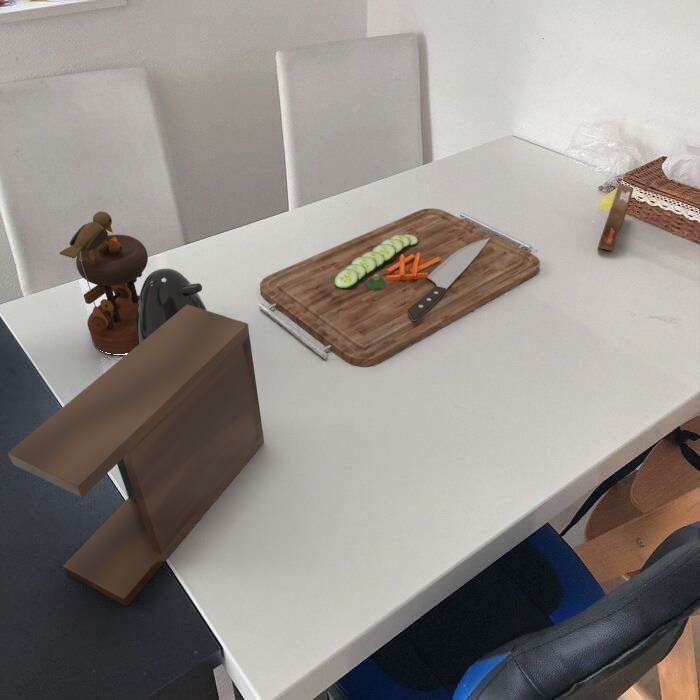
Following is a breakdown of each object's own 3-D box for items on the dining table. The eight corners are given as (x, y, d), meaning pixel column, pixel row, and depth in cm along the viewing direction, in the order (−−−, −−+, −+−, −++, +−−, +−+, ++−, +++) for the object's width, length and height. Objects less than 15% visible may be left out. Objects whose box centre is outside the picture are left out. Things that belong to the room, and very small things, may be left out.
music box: (150, 366, 94) (103, 238, 81) (77, 365, 96) (20, 240, 83) (186, 303, 106) (150, 183, 93) (121, 302, 107) (76, 185, 95)
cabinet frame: (66, 574, 69) (7, 452, 57) (210, 421, 85) (187, 304, 74) (127, 607, 66) (77, 486, 54) (264, 442, 82) (248, 323, 71)
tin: (607, 217, 125) (618, 174, 120) (625, 221, 124) (637, 177, 118) (594, 257, 114) (605, 211, 109) (613, 261, 113) (625, 215, 108)
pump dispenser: (197, 397, 89) (177, 302, 79) (130, 380, 92) (102, 286, 82) (234, 351, 96) (219, 258, 87) (171, 336, 99) (149, 245, 90)
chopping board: (441, 206, 129) (442, 192, 127) (556, 263, 113) (560, 247, 111) (240, 294, 107) (237, 278, 105) (348, 380, 91) (347, 362, 89)
